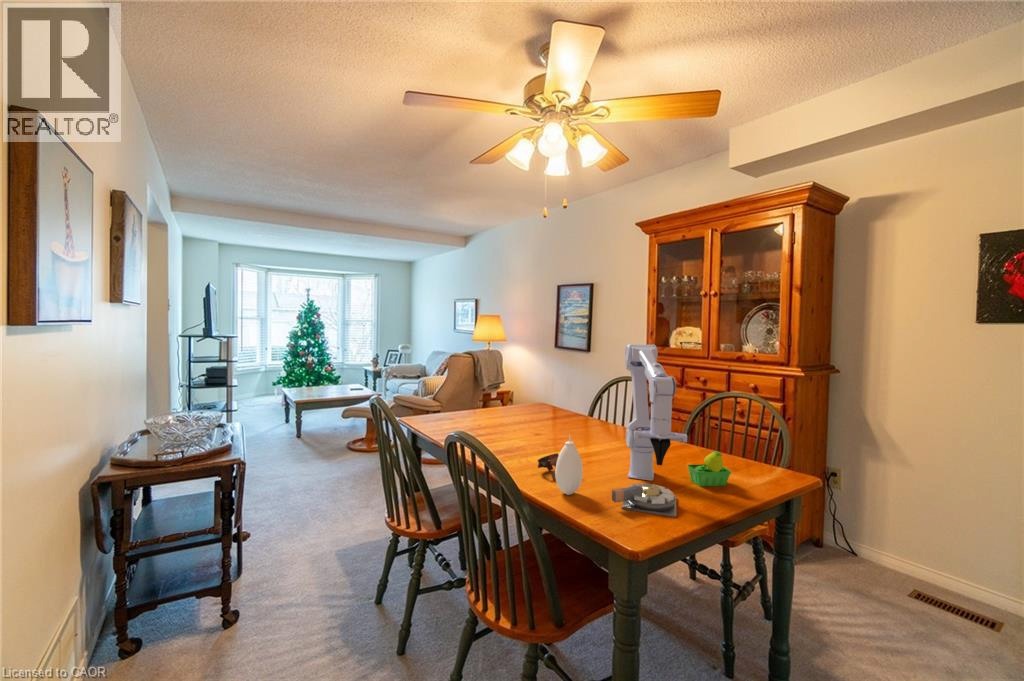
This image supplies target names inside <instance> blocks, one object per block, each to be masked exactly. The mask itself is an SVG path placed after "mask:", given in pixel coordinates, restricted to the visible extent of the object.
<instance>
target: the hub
mask: <svg viewBox="0 0 1024 681" xmlns="http://www.w3.org/2000/svg"><path fill="white" fill-rule="evenodd" d="M644 484H645V485H642V488H643V494H646V495H649V496H659V495H660V494H659V487H658V486H659V485H658V486H655V485H656V484H655V485H653V484H650V483H644ZM621 509H622V510H627V511H632V512H639V513H644V514H652V515H658V516H665V517H670V518H677V495H674V500H672V501H671V502H669V503H666V502H665V504H651V503H650V502H648V503H644V502H641V501H637V500H628V501H623V502H622V505H621Z"/></svg>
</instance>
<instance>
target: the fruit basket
mask: <svg viewBox="0 0 1024 681" xmlns="http://www.w3.org/2000/svg"><path fill="white" fill-rule="evenodd" d="M722 456H723V455H722V453H721V452H719V451H716V450H715V451H713V452H711V453H709V454H708V455H706V456H705V457H704V459H703V462H704V464H701V463H700V464H698V463H697V464H687V465H686V466H687V469H688V472H689V477H690V480H691V482H692V483H694V484H695V485H698V487H719V486H720V487H723V486H724V487H725V486H726V485H727V483H728V480H729V477H730V475H731V473H732V470H730V469H729V468H727V467H725V466H724V461H723V458H722Z"/></svg>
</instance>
